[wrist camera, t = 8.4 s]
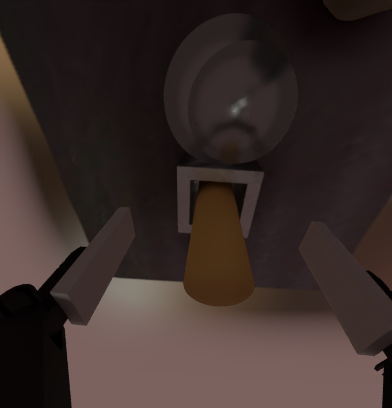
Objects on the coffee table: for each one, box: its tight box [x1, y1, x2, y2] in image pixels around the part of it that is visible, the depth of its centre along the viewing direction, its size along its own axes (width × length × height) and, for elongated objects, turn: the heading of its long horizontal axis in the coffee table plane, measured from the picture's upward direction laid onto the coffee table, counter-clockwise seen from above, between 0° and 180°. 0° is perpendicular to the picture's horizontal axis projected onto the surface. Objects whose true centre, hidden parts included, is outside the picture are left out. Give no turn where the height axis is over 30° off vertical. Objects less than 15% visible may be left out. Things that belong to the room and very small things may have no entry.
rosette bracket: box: [164, 13, 298, 238], centre depth 17 cm, size 26×9×14 cm, turn 178°
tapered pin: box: [183, 180, 254, 306], centre depth 15 cm, size 4×4×14 cm
